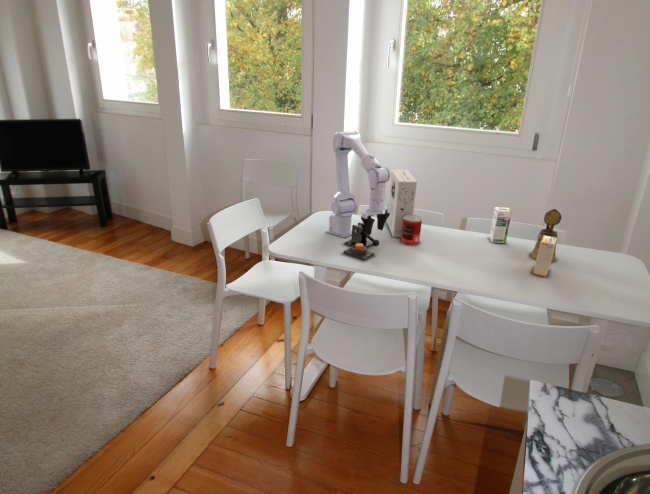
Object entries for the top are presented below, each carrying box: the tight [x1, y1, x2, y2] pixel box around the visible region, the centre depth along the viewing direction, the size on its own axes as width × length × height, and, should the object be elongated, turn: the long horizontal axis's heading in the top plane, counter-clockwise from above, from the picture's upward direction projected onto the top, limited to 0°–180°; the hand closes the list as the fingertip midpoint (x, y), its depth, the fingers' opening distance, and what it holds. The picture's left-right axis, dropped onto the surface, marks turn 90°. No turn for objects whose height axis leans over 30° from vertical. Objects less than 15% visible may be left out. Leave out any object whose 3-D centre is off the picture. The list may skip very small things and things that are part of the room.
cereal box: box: [386, 168, 418, 238], centre depth 208 cm, size 22×8×25 cm, turn 179°
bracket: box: [344, 221, 373, 249], centre depth 193 cm, size 9×8×9 cm
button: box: [355, 243, 363, 250], centre depth 184 cm, size 3×3×2 cm
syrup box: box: [489, 206, 512, 244], centre depth 200 cm, size 6×6×14 cm
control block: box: [343, 245, 375, 261], centre depth 185 cm, size 10×7×3 cm
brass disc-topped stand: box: [530, 208, 562, 263], centre depth 186 cm, size 9×14×18 cm, turn 150°
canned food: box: [400, 214, 423, 246], centre depth 197 cm, size 8×8×11 cm
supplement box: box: [532, 236, 558, 278], centre depth 172 cm, size 8×5×13 cm, turn 148°
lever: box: [356, 224, 380, 247], centre depth 191 cm, size 12×3×3 cm, turn 50°
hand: (374, 231), depth 186 cm, fingers open, 7 cm apart
